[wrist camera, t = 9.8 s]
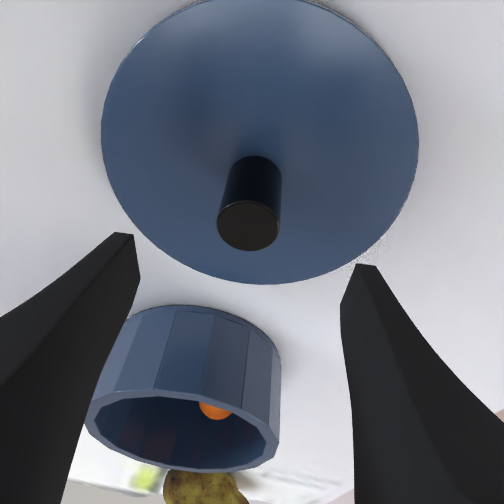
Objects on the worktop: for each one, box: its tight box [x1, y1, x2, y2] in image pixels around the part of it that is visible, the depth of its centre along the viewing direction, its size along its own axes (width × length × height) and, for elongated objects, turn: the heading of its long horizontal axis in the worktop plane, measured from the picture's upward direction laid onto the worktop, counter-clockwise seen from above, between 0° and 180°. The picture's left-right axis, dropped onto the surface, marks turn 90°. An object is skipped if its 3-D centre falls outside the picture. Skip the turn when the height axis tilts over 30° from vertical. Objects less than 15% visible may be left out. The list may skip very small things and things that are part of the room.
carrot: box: [199, 402, 232, 420], centre depth 27 cm, size 8×3×3 cm
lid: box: [101, 0, 419, 285], centre depth 15 cm, size 14×14×5 cm
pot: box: [84, 305, 281, 473], centre depth 26 cm, size 13×13×6 cm
